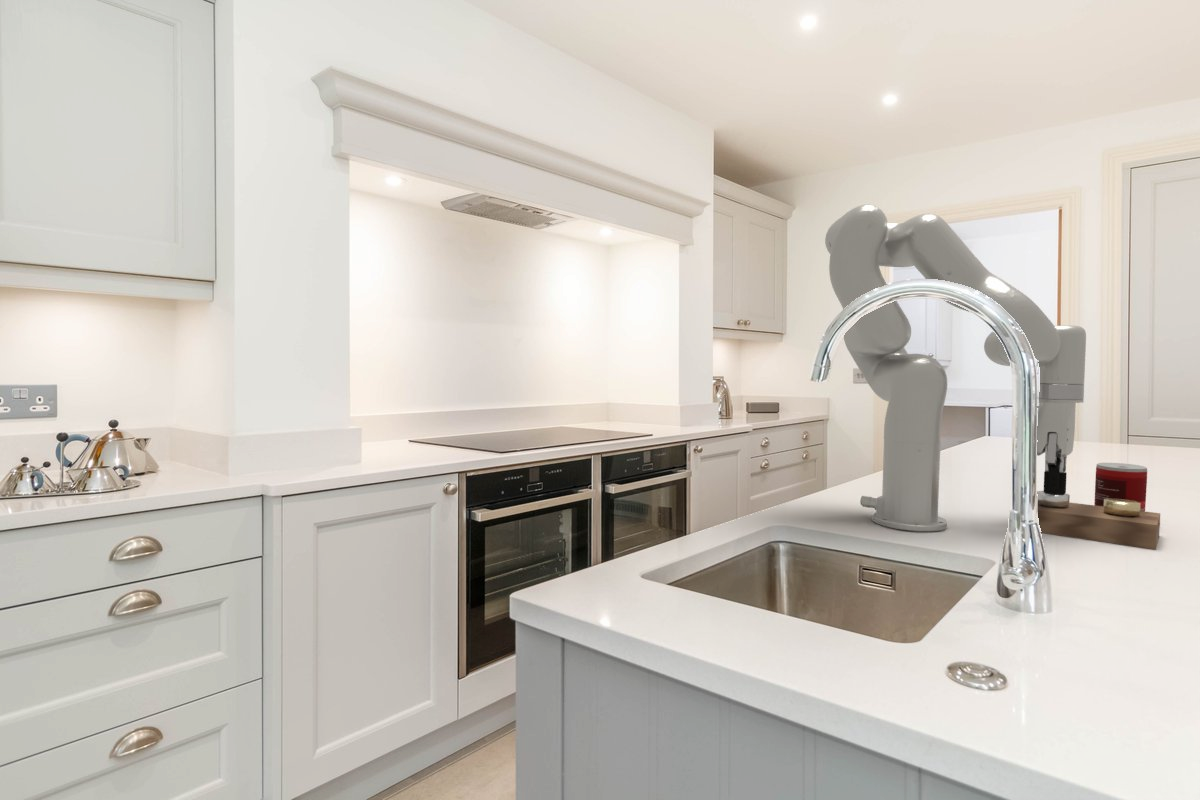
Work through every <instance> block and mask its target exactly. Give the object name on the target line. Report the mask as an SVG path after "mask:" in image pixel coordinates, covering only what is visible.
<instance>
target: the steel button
mask: <svg viewBox="0 0 1200 800" xmlns="http://www.w3.org/2000/svg"><path fill="white" fill-rule="evenodd" d="M1037 494H1038V504H1040V505H1044V507H1052V508H1060V509H1061V507H1069V502H1070V496H1071V495H1070V494H1069V493H1067V492H1066V493H1065V494H1064V495H1057V494H1049V493H1044V490H1037V491H1036V495H1037Z"/></svg>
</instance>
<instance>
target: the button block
mask: <svg viewBox="0 0 1200 800" xmlns="http://www.w3.org/2000/svg"><path fill="white" fill-rule="evenodd" d="M1103 509H1104V507H1103V506H1095V505H1094V504H1087V503H1085V504H1084V503H1079V502H1078V503H1076V502H1070V501H1069V507H1061V509H1060V508H1052V507H1044V505H1040V504H1038V518H1039V525H1040V528H1041V531H1042V534H1049V535H1055V536H1062V537H1068V538H1075V539H1080V540H1081V539H1083V540H1089V541H1095V542H1102V543H1109V544H1117V545H1122V546H1123V545H1124V546H1129V547H1136V548H1141V549H1142V548H1143V549H1150V550H1156V549H1157V546H1158V542H1159V538H1160V528H1161V527H1160V526H1161V513H1160V512H1153V511H1146V510H1145V511H1140V515H1139V516H1131V517H1124V516H1116V515H1112V514H1111V513H1107V512H1104V511H1103Z"/></svg>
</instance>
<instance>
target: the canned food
mask: <svg viewBox="0 0 1200 800" xmlns="http://www.w3.org/2000/svg"><path fill="white" fill-rule="evenodd" d="M1094 483H1095V484H1094V485H1095V486H1094V503H1093V505H1095V506H1103V507H1104V499H1108V498H1113V499H1125V500H1132V501H1136V502H1139V503H1140V511H1145V512H1146V504H1147V503H1146V501H1147V486H1148V485H1147V484H1148V467H1147V466H1144V465H1139V464H1132V463H1123V462H1122V463H1120V462H1098V463H1096V467H1095V482H1094Z"/></svg>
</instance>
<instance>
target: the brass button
mask: <svg viewBox="0 0 1200 800" xmlns="http://www.w3.org/2000/svg"><path fill="white" fill-rule="evenodd" d="M1103 511H1104V512H1107V513H1111V514H1112V515H1116V516H1124V517H1131V516H1139V515H1140V503H1139V502H1136V501H1132V500H1125V499H1113V498H1108V499H1104V509H1103Z"/></svg>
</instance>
